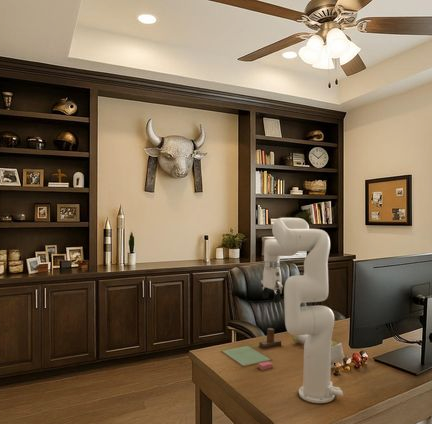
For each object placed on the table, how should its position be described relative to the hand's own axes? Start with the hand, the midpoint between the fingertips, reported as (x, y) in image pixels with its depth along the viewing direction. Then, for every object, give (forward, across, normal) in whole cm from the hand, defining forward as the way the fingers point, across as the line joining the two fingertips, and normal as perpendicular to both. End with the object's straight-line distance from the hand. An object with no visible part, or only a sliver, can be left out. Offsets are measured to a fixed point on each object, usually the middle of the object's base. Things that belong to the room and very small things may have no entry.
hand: (271, 300), depth 187 cm
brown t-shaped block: (+22, 0, 0) cm, 22 cm away
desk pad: (+22, -4, +16) cm, 28 cm away
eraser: (+22, -21, +16) cm, 35 cm away
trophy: (+22, -17, -14) cm, 31 cm away
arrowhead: (+22, -35, -10) cm, 43 cm away
